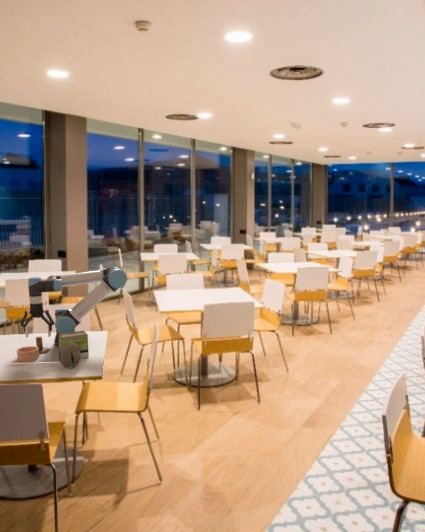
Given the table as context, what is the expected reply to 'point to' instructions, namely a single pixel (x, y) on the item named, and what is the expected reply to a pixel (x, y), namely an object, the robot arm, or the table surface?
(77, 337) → the tea box
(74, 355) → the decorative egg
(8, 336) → the table surface
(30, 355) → the bowl
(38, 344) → the lid
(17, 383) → the table surface
